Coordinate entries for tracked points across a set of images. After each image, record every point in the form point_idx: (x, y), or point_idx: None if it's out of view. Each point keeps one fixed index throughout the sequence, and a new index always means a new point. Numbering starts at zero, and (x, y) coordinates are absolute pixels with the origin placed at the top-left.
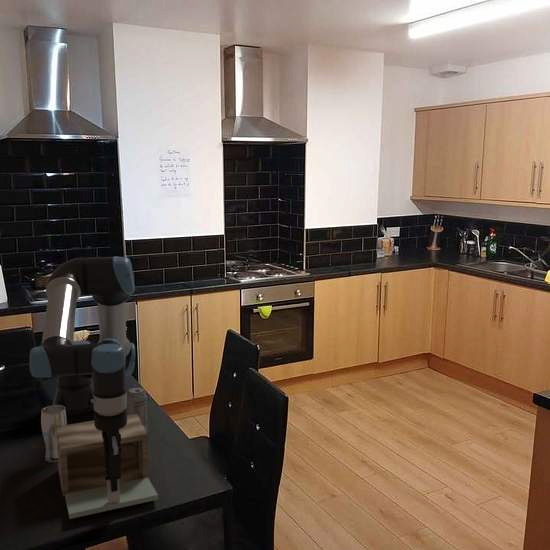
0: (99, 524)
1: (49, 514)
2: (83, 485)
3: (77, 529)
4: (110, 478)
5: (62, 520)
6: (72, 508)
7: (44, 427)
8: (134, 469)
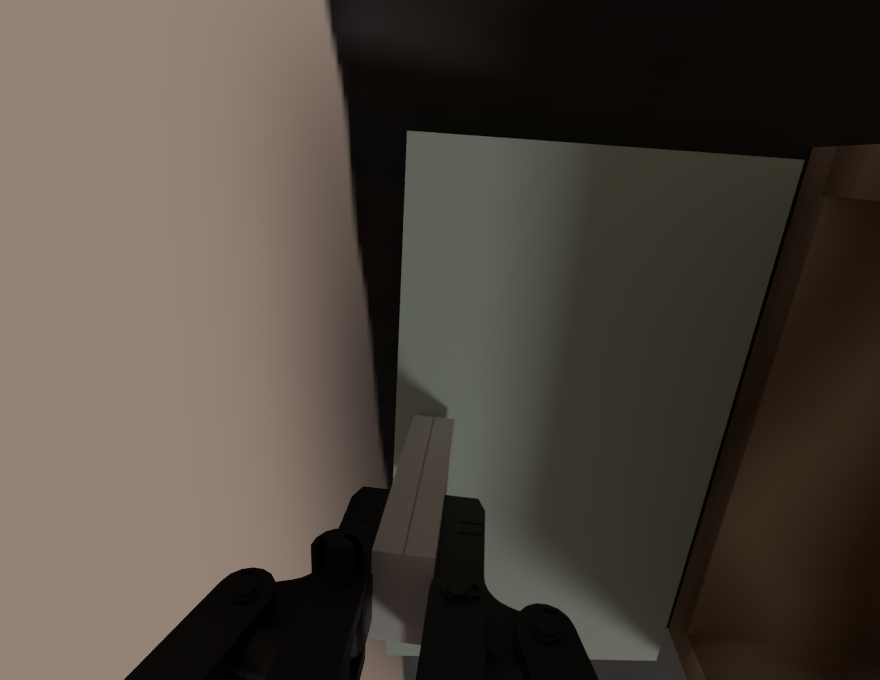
0: (386, 310)
1: (671, 18)
2: (859, 317)
3: (391, 181)
4: (203, 601)
5: (539, 103)
6: (493, 172)
7: None
8: (823, 629)
